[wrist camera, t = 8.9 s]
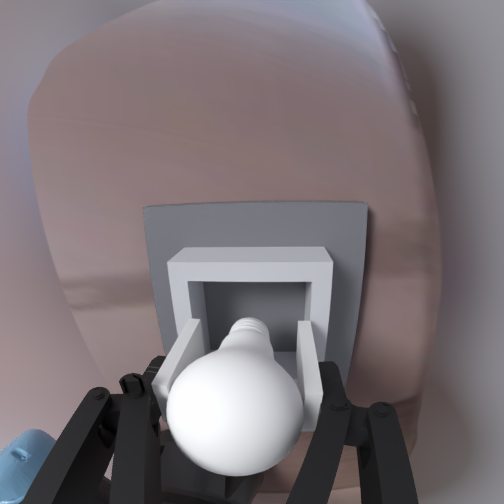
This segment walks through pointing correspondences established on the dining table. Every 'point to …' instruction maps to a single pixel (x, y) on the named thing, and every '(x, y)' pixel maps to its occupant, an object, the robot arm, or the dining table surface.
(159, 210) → the lamp socket
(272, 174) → the dining table surface
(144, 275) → the dining table surface
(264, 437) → the lightbulb
